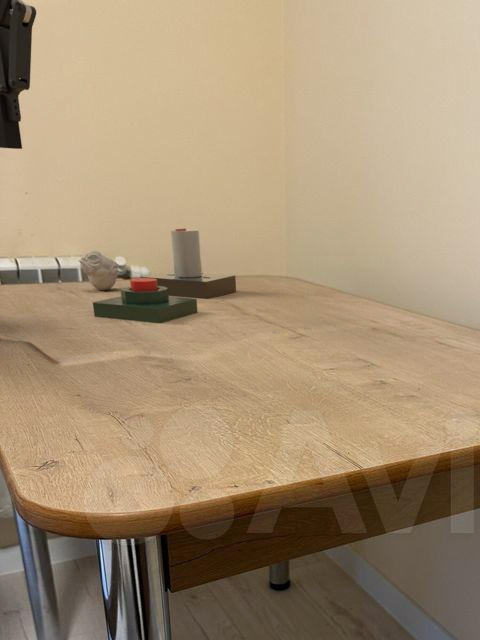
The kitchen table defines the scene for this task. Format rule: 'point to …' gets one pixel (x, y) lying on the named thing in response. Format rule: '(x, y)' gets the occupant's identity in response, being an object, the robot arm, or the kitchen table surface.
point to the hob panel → (196, 284)
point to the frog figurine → (99, 270)
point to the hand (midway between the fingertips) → (10, 148)
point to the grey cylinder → (186, 252)
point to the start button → (144, 284)
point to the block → (145, 306)
